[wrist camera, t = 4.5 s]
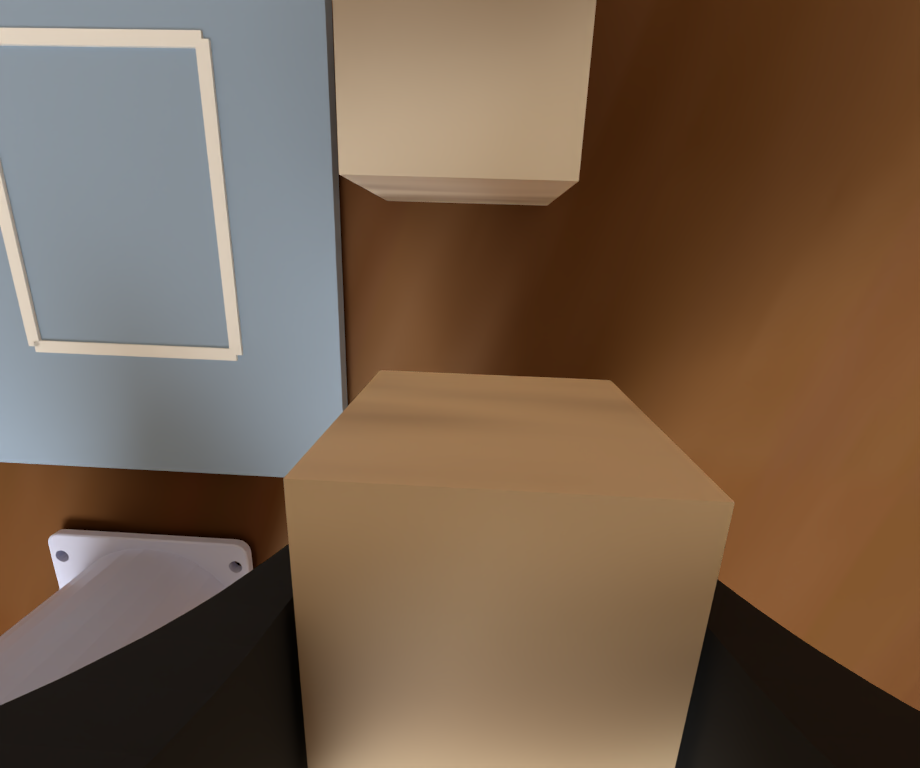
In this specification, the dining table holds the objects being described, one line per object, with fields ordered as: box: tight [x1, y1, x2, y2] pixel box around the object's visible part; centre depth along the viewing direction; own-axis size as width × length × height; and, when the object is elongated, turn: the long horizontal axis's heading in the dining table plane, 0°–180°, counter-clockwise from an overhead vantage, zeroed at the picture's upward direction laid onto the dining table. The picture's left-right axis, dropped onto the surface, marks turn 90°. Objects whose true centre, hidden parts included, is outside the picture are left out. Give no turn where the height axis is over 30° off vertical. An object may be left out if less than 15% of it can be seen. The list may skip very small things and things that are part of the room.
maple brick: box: [283, 370, 735, 768], centre depth 8 cm, size 7×5×5 cm
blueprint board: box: [0, 0, 348, 477], centre depth 14 cm, size 18×14×1 cm
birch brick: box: [332, 0, 596, 206], centre depth 11 cm, size 7×5×5 cm
